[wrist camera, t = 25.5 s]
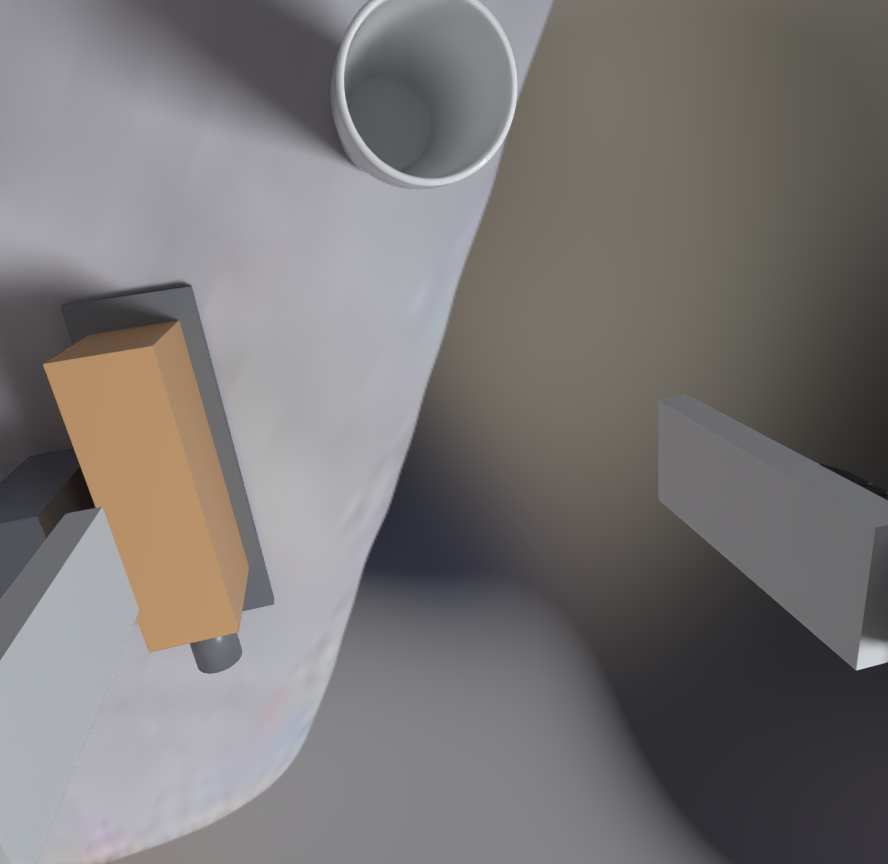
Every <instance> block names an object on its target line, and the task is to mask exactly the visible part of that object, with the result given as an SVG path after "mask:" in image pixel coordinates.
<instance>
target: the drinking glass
mask: <svg viewBox="0 0 888 864" xmlns="http://www.w3.org/2000/svg"><path fill="white" fill-rule="evenodd" d="M330 101H331V110H332V115H333V120H334V124H335V127H336V130H337V133H338V135H339V139H340V142H341V145H342V147H343V149H344V151H345V153H346V154H347V156H348V157H349V159H350V160H351V161H352V162H353V163H354V164H355V165H356V166H357V167H358V168H360V169H361V170H363V171H364V172H366V173H368V174H369V175H371V176H373V177H374V178H376V179H378V180H380V181H382V182H384V183H386V184H389V185H392V186H395V187H399V188H405V189H431V188H437V187H441V186H445V185H448V184H451V183H454V182H457V181H459V180H462V179H464V178H466V177H468V176H470V175H471V174H473V173H474V172H476V171H477V170H479V169H480V168H481V167H482V166H484V165H485V164H486V163H487V162H488V161H489V160H490V159H491V158H492V156H493V155H494V154H495V153H496V152H497V150H498V149H499V147H500V146H501V144H502V143H503V141H504V139H505V137H506V135H507V133H508V131H509V128H510V126H511V123H512V120H513V116H514V112H515V108H516V101H517V72H516V65H515V60H514V56H513V53H512V49H511V46H510V44H509V41H508V39H507V37H506V35H505V33H504V31H503V29H502V27H501V25H500V24H499V22H498V21H497V19H496V18H495V17H494V15H493V14H492V13H491V12H490V11H489V9H488V8H487V7H486V6H485V5H484V4H483V3H482V2H480V1H479V0H369V1H368V2H366V3H365V5H364V6H363V7H362V8H361V9H360V10H359V11H358V13H357V14H356V15H355V17H354V18H353V20H352V21H351V23H350V25H349V26H348V28H347V30H346V32H345V35H344V37H343V39H342V41H341V43H340V46H339V49H338V51H337V54H336V57H335V61H334V65H333V70H332V76H331V86H330Z"/></svg>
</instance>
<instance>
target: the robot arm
mask: <svg viewBox="0 0 888 864" xmlns="http://www.w3.org/2000/svg"><path fill="white" fill-rule="evenodd" d="M658 427H659V428H658V429H659V430H658V434H659V435H658V440H659V443H658V447H659V448H658V450H659V500H660V501H661V502H662V503H664V504H665V505H666V506H667V507H668V508H669V509H670V510H671V511H673V512H674V513H675V514H676V515H677V516H678V517H680V518H681V519H682V520H683V521H684V522H685V523H687V524H688V525H689V526H690V527H691V528H692V529H693V530H695V531H696V532H697V533H698V534H699V535H700V536H702V537H703V538H704V539H705V540H706V541H707V542H708V543H710V544H711V545H712V546H713V547H714V548H715V549H717V550H718V551H719V552H720V553H721V554H722V555H724V556H725V557H726V558H727V559H728V560H729V561H730V562H732V563H733V564H734V565H735V566H736V567H737V568H739V569H740V570H741V571H742V572H743V573H744V574H746V575H747V576H748V577H749V578H750V579H751V580H752V581H754V582H755V583H756V584H757V585H758V586H759V587H760V588H762V589H763V590H764V591H765V592H766V593H768V594H769V595H770V596H771V597H772V598H773V599H774V600H775V601H777V602H778V603H779V604H780V605H781V606H782V607H784V608H785V609H786V610H787V611H788V612H789V613H791V614H792V615H793V616H794V617H795V618H796V619H797V620H799V621H800V622H801V623H802V624H803V625H804V626H805V627H807V628H808V629H809V630H810V631H811V632H812V633H814V634H815V635H816V636H817V637H818V638H819V639H820V640H822V641H823V642H824V643H825V644H826V645H827V646H829V647H830V648H831V649H832V650H833V651H835V652H836V653H837V654H838V655H839V656H840V657H841V658H843V659H844V660H845V661H846V662H847V663H848V664H850V665H851V666H852V667H853V668H854V669H855V670H859V669H863V668H867V667H871V666H875V665H878V664H882V663H886V662H888V491H886V490H884V489H882V488H880V487H878V486H876V485H874V486H872V485H871V483H870V482H868V481H866V480H864V479H862V478H860V477H858V476H857V475H854V474H853V473H851V472H848V471H845V470H841V469H838V468H834V467H830V466H827V465H823V464H817V463H815V462H813V461H812V460H810V459H808V458H806V457H804V456H802V455H800V454H798V453H796V452H794V451H793V450H791V449H789V448H787V447H785V446H783V445H781V444H779V443H777V442H775V441H773V440H772V439H770V438H768V437H766V436H764V435H762V434H760V433H758V432H756V431H754V430H752V429H751V428H749V427H747V426H745V425H743V424H741V423H739V422H737V421H735V420H734V419H732V418H730V417H728V416H726V415H724V414H722V413H720V412H718V411H716V410H714V409H712V408H711V407H709V406H707V405H705V404H703V403H701V402H699V401H697V400H695V399H693V398H691V397H689V396H688V395H684V396H679V397H674V398H669V399H663V400H659V401H658ZM138 612H139V608H138V605H137V602H136V600H135V597H134V594H133V591H132V588H131V586H130V583H129V580H128V577H127V574H126V572H125V569H124V566H123V563H122V560H121V558H120V555H119V552H118V549H117V546H116V544H115V541H114V538H113V535H112V533H111V530H110V527H109V524H108V521H107V519H106V516H105V513H104V510H103V507H98V508H93V509H88V510H83V511H77V512H72V513H67V514H65V515H64V516H63V518H62V519H61V520H60V522H59V523H58V524H57V525H56V527H55V528H54V529H53V531H52V532H51V533H50V535H49V536H48V537H47V539H46V540H45V541H44V542H43V544H42V545H41V546H40V548H39V549H38V550H37V552H36V553H35V554H34V556H33V557H32V558H31V560H30V561H29V562H28V563H27V565H26V566H25V567H24V569H23V570H22V571H21V573H20V574H19V575H18V577H17V578H16V579H15V580H14V582H13V583H12V584H11V586H10V587H9V588H8V590H7V591H6V592H5V594H4V595H3V596H2V597H1V599H0V864H36V863H37V860H38V858H39V855H40V853H41V850H42V848H43V845H44V843H45V841H46V838H47V836H48V833H49V831H50V828H51V826H52V823H53V821H54V818H55V816H56V814H57V811H58V809H59V806H60V804H61V801H62V799H63V796H64V794H65V792H66V789H67V787H68V784H69V782H70V779H71V777H72V774H73V772H74V769H75V767H76V765H77V762H78V760H79V757H80V755H81V752H82V750H83V747H84V745H85V742H86V740H87V738H88V735H89V733H90V730H91V728H92V725H93V723H94V720H95V718H96V715H97V713H98V711H99V708H100V706H101V703H102V701H103V698H104V696H105V693H106V691H107V688H108V686H109V684H110V681H111V679H112V676H113V674H114V671H115V669H116V666H117V664H118V662H119V659H120V657H121V654H122V652H123V649H124V647H125V644H126V642H127V639H128V637H129V635H130V632H131V630H132V627H133V625H134V622H135V620H136V617H137V615H138Z"/></svg>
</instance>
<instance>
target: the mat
mask: <svg viewBox="0 0 888 864" xmlns="http://www.w3.org/2000/svg"><path fill="white" fill-rule="evenodd" d="M61 308H62V311H63V314H64V317H65V320H66V323H67V326H68V329H69V331H70V334H71V337H72V340H73V343H74V344H75V343H77V342H79V341H80V340H82V339H83V338H85V337H87V336H88V335H91V334H97V333H104V332H110V331H116V330H122V329H128V328H134V327H141V326H147V325H153V324H159V323H165V322H172V321H178V320H179V321H180V325H181V328H182V332H183V335H184V339H185V342H186V346H187V350H188V353H189V357H190V360H191V364H192V367H193V371H194V374H195V378H196V381H197V385H198V389H199V392H200V396H201V399H202V403H203V406H204V410H205V413H206V417H207V420H208V424H209V428H210V431H211V435H212V438H213V442H214V445H215V449H216V452H217V456H218V459H219V463H220V467H221V470H222V474H223V477H224V481H225V484H226V488H227V491H228V495H229V498H230V502H231V506H232V509H233V513H234V516H235V520H236V523H237V527H238V530H239V534H240V537H241V541H242V545H243V548H244V552H245V555H246V559H247V562H248V566H249V572H248V578H247V584H246V591H245V597H244V603H243V609H242V611H245V610H250V609H255V608H259V607H264V606H268V605H273V604H274V596H273V593H272V589H271V585H270V581H269V578H268V574H267V570H266V566H265V562H264V559H263V555H262V551H261V547H260V543H259V540H258V536H257V532H256V528H255V525H254V521H253V517H252V513H251V509H250V506H249V502H248V498H247V494H246V490H245V487H244V483H243V479H242V475H241V472H240V468H239V464H238V460H237V456H236V453H235V449H234V445H233V441H232V438H231V434H230V430H229V426H228V422H227V419H226V415H225V411H224V407H223V403H222V400H221V396H220V392H219V388H218V385H217V381H216V377H215V373H214V369H213V366H212V362H211V358H210V354H209V350H208V347H207V343H206V339H205V335H204V332H203V328H202V324H201V320H200V316H199V313H198V309H197V305H196V301H195V297H194V294H193V290H192V286H184V287H178V288H171V289H164V290H158V291H151V292H144V293H138V294H131V295H124V296H117V297H111V298H104V299H97V300H91V301H84V302H77V303H71V304H64V305H62V306H61Z"/></svg>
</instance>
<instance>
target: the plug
mask: <svg viewBox="0 0 888 864" xmlns="http://www.w3.org/2000/svg"><path fill="white" fill-rule="evenodd" d="M43 366H44V369H45V372H46V374H47V377H48V380H49V382H50V385H51V388H52V391H53V393H54V396H55V399H56V401H57V404H58V407H59V410H60V412H61V415H62V418H63V420H64V423H65V426H66V428H67V431H68V434H69V437H70V439H71V442H72V445H73V447H74V450H75V453H76V456H77V458H78V461H79V464H80V466H81V469H82V472H83V475H84V477H85V480H86V483H87V485H88V488H89V491H90V494H91V496H92V499H93V502H94V504H95V507H96V508H98V507H103V510H104V513H105V516H106V519H107V521H108V524H109V527H110V530H111V533H112V535H113V538H114V541H115V544H116V546H117V549H118V552H119V555H120V558H121V560H122V563H123V566H124V569H125V572H126V574H127V577H128V580H129V583H130V586H131V588H132V591H133V594H134V597H135V600H136V602H137V605H138V608H139V612H138V615H137V617H136V618H137V621H138V624H139V626H140V629H141V632H142V634H143V637H144V640H145V643H146V645H147V648H148V651H149V653H150V652H154V651H159V650H163V649H167V648H172V647H176V646H181V645H185V644H189V643H190V646H191V649H192V652H193V655H194V657H195V660H196V663H197V666H198V669H199V670H200V671H201V672H203V673H217V672H221V671H223V670H226V669H228V668H229V667H231V666H232V665H234V664H235V663H236V662H237V661H238V660H239V659H240V657H241V655H242V648H241V645H240V641H239V638H238V635H237V633H238V632H239V628H240V622H241V616H242V609H243V603H244V597H245V591H246V584H247V578H248V572H249V566H248V562H247V559H246V555H245V552H244V548H243V545H242V541H241V537H240V534H239V530H238V527H237V523H236V520H235V516H234V513H233V509H232V506H231V502H230V498H229V495H228V491H227V488H226V484H225V481H224V477H223V474H222V470H221V467H220V463H219V459H218V456H217V452H216V449H215V445H214V442H213V438H212V435H211V431H210V428H209V424H208V420H207V417H206V413H205V410H204V406H203V403H202V399H201V396H200V392H199V389H198V385H197V381H196V378H195V374H194V371H193V367H192V364H191V360H190V357H189V353H188V350H187V346H186V342H185V339H184V335H183V332H182V328H181V325H180V321H179V320H178V321H172V322H165V323H159V324H153V325H147V326H141V327H134V328H128V329H122V330H116V331H110V332H104V333H97V334H91V335H88V336H87V337H85V338H83V339H82V340H80V341H79V342H77V343H75V344H74V345H72V346H71V347H69V348H68V349H66V350H64V351H63V352H61V353H60V354H58V355H56V356H55V357H53V358H52V359H50V360H49V361H47V362H45V363H44V364H43Z"/></svg>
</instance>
